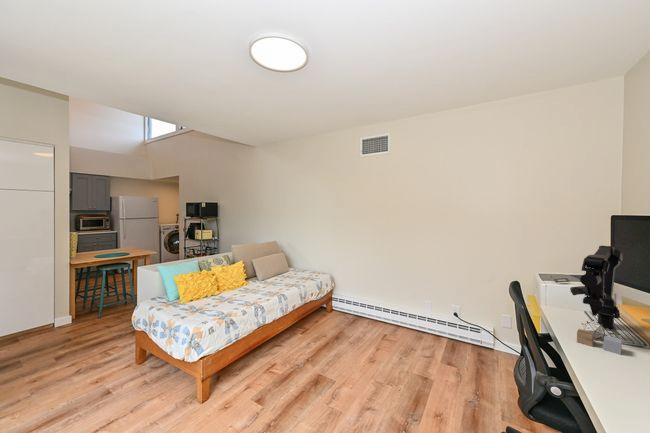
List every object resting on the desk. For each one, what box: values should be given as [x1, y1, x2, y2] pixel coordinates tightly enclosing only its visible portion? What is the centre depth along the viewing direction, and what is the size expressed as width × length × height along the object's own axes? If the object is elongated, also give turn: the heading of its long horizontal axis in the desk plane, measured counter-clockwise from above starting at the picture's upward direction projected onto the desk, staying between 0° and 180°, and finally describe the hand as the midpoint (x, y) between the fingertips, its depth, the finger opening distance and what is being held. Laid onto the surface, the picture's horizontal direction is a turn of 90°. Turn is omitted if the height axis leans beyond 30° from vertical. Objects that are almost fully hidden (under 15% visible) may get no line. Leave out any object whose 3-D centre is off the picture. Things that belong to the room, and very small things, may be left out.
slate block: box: [603, 334, 623, 356], centre depth 114 cm, size 5×5×5 cm
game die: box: [581, 319, 608, 341], centre depth 124 cm, size 9×8×10 cm
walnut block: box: [576, 328, 595, 348], centre depth 120 cm, size 5×5×5 cm
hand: (594, 315), depth 124 cm, fingers closed
